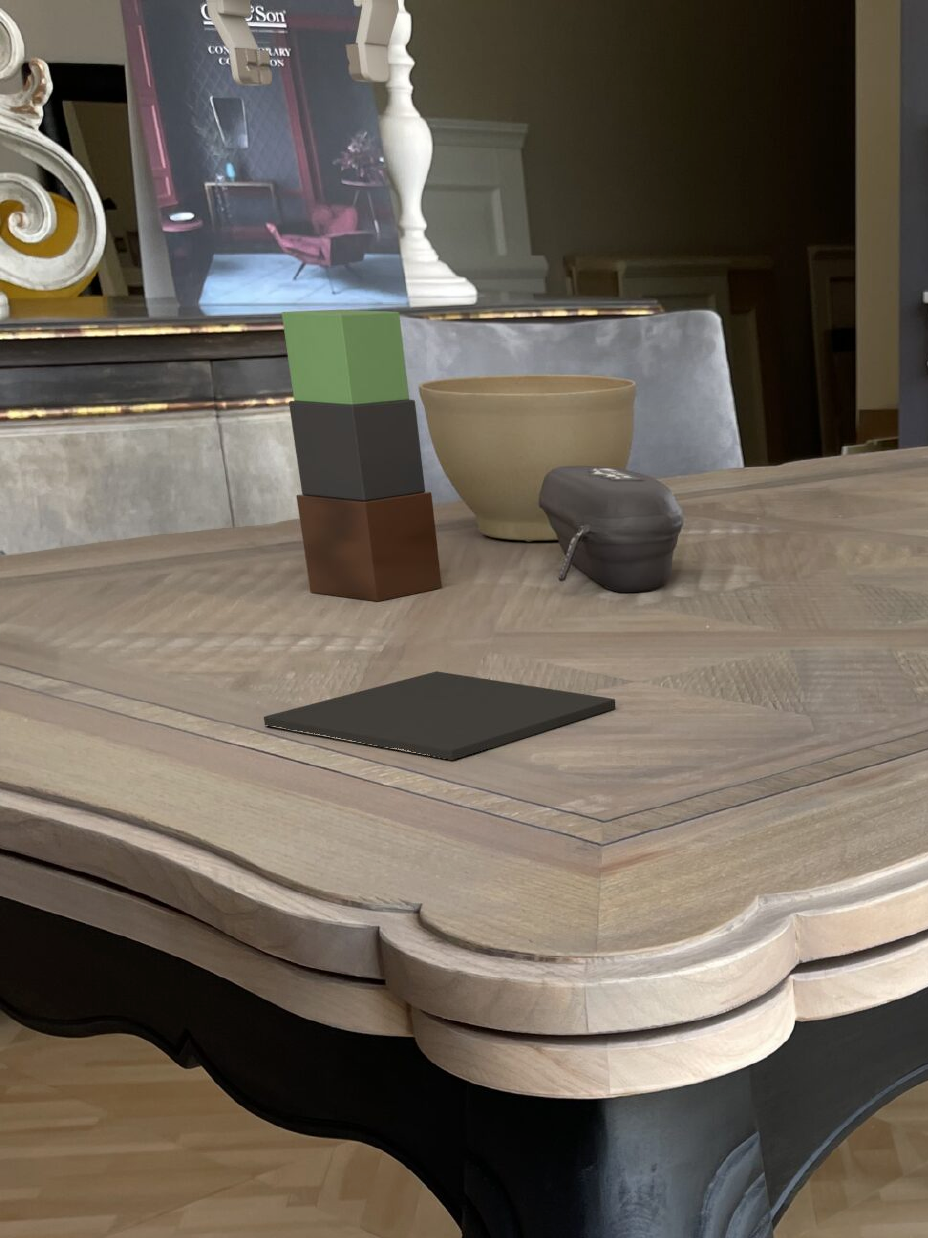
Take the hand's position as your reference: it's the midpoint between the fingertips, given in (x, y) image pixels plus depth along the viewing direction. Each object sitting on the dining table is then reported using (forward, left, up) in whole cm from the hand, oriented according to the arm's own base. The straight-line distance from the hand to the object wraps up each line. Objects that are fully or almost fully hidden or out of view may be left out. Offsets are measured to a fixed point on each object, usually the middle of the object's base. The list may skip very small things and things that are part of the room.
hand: (311, 83), depth 105 cm
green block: (0, 0, -17) cm, 17 cm away
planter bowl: (-7, +25, -29) cm, 39 cm away
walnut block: (0, 0, -28) cm, 29 cm away
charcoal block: (0, 0, -22) cm, 23 cm away
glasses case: (+9, +13, -29) cm, 33 cm away
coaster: (+28, -24, -28) cm, 47 cm away
